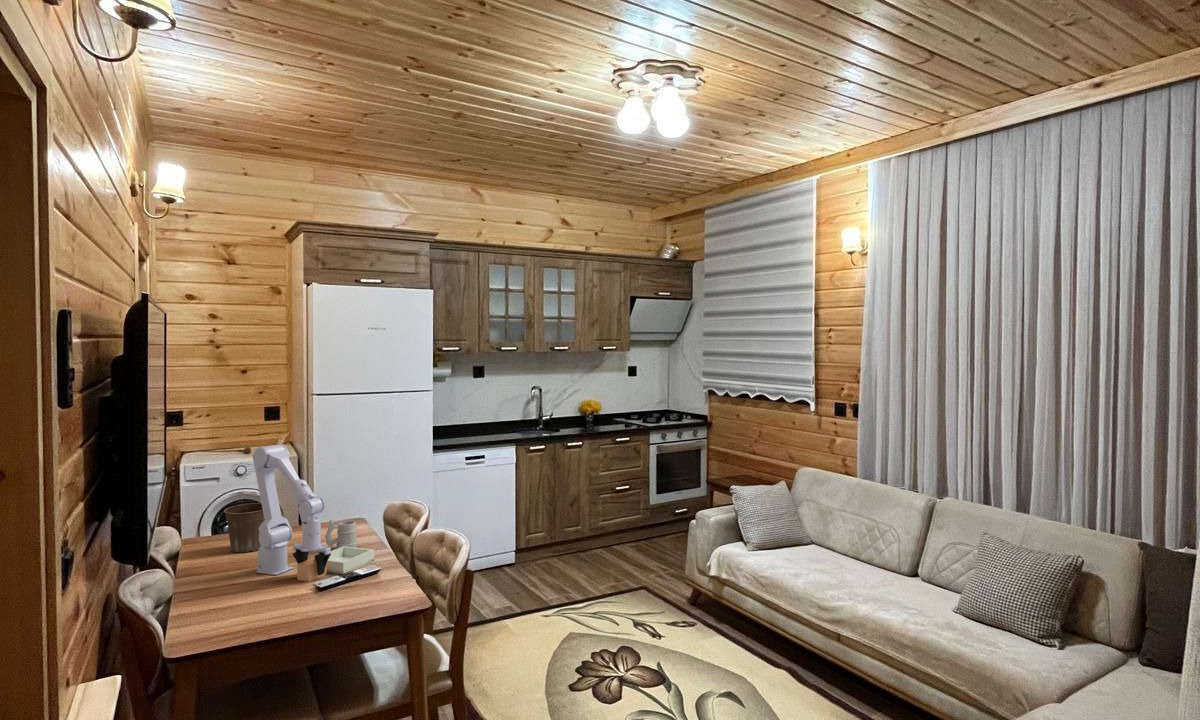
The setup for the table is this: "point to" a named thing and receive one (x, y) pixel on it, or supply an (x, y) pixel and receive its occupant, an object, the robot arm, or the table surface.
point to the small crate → (308, 570)
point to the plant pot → (244, 526)
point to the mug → (342, 534)
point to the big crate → (348, 559)
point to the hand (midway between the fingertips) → (312, 573)
